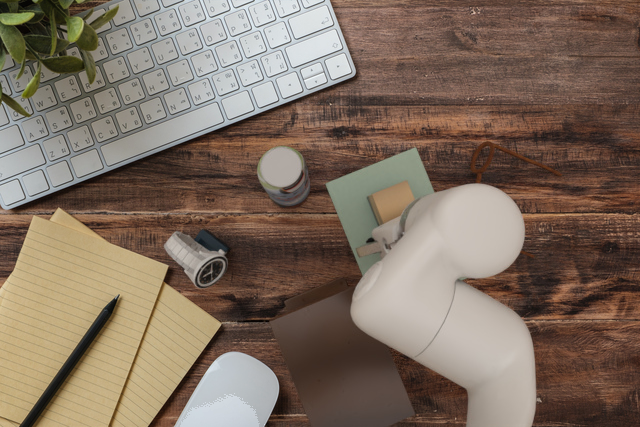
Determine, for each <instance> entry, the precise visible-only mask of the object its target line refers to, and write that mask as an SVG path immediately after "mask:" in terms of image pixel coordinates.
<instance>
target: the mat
mask: <svg viewBox="0 0 640 427" xmlns="http://www.w3.org/2000/svg"><path fill="white" fill-rule="evenodd" d="M419 153H420V152H419V151H418V149H417V146H415V147H413V148H410V149H407V150H405V151H403V152H400V153H397V154H395V155H392V156H390V157H387V158H385V159H383V160H380V161H377V162H375V163H373V164H370V165H367V166H365V167H363V168H360V169H358V170H355V171H353V172H350V173H347V174H346V175H343V176H341V177H338V178H335V179H332V180H330V181H328V182H326V183H324V184H325V187H326V190H327V192H328V195H329V197H330V200H331V202H332V204H333V207H334V209H335V211H336V214H337V217H338V219H339V222H340V224H341V227H342V229H343V232H344V234H345V237H346V239H347V241H348V244H349V246H350V249H351V251H352V253H353V256H354V259H355V260H356V265H357V266H358V268H359V271H360V273H361V277H363V276H364V274H365V273H366V272H367V271H368V270H369V268H370V267H372V266H373V265H374V264H375V263H377V262H378V261H381V258H380V255H379V253H380V252H381V251H380V252H378V253H375V254H370V255H367V256H363V257H359V256H358V254H357V251H356V249H355V248H357V247H359V246H361V245H363V244H366V241H367V240H368V238H371V237H372V231H373V229H375V228H376V227H378V225H377V222H376V220H375V217H374V215H373V212H372V210H371V207H370V205H369V202H368V200H367V198H366V197H367V196H369V195H371V194H374V193H376V192H379V191H381V190H384V189H386V188H388V187H391V186H393V185H396V184H398V183H401V182H403V181H406V180H407V181H408V184H409V186H410V189H411V191H412V194H413V196H414V198H415V199H417V198H419V197H421V196H425V195H428V194H432V193H436V191H435V190H434V187H433V185H432V182H431V181H430V180H431V179H430V178H429V175H428V173H427V171H426V168H425V166H424V163H423V161H422V158H421V156H420V154H419ZM372 238H373V237H372ZM458 279H460V280H461V281H464V280H466V279H468V278H467V277H460V278H458Z"/></svg>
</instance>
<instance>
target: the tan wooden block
mask: <svg viewBox="0 0 640 427" xmlns="http://www.w3.org/2000/svg"><path fill="white" fill-rule="evenodd" d="M366 198H367V200H368V202H369V205H370V207H371V210H372V212H373V215H374V217H375V220H376V222H377V225H378V226H380V225H382V224H384V223H386V222H388V221H390V220H392V219H394V218H397V217H399V216H401V214H402V212H403V210H404V209H405V208H406V206H407V205H408V204H409V203H411V202H412V201H413V200H415V198H414V196H413V194H412V191H411V189H410V186H409V184H408V181H407V180H406V181H403V182H401V183H398V184H396V185H393V186H391V187H388V188H386V189H384V190H381V191H379V192H376V193H374V194H371V195H369V196H367V197H366Z"/></svg>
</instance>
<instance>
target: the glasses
mask: <svg viewBox="0 0 640 427" xmlns="http://www.w3.org/2000/svg"><path fill="white" fill-rule="evenodd" d="M486 147H489V154H488V157H487V159H486V161H485V163H484V164H483V165H481V167H480V168H476V162H477V158H478V157H479V155H480V153H481V151H482V150H483V149H484V148H486ZM495 149H496V150H499V151H501V152H503V153H505V154H507V155H510V156H512V157H514V158H517V159H519V160H521V161H523V162H525V163H529V164H531V165H534V166H536V167H538V168H540V169H544V170H546V171H548V172H550V173H552V174H554V175H555V176H558V177H562V176H563V174H562V172H560V171H557V170H556V169H554V168H551V167H549V166H547V165H546V164H543V163H541V162H538V161H536V160H534V159H531V158H529V157H526V156H525V155H522V154H520V153H517V152H515V151H513V150H510V149H508V148H506V147H503V146H501V145H499V144H497V143H494V142H492V141H490V140H485V141H483V142H481V143H480V144H479V146H478V147H477V148H476V149H475V151H474V153H473V155H472V157H471V161H470V171H471V172H472V173H474V174H476V179H475V182H474V184H475V183H476V184H481V181H482V175H483V174H484V172H486V170H487V169H488V168H489V166H490V164H491V163H492V161H493V159H494V156H495V151H496V150H495ZM519 254H523V255H525V256H528V257H529V258H532V259H534V258H535V255H534V254H533V253H530V252H528V251H524V250H523V249H521V251H520V253H519Z"/></svg>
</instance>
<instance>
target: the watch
mask: <svg viewBox="0 0 640 427" xmlns="http://www.w3.org/2000/svg"><path fill="white" fill-rule="evenodd" d="M163 247H164V248H163V249H164V250H165V251H166V253H167V254H168V256H169V257H171V259H172V260H174V261H175V262H176V263H177V264H178V265H179V266H181V267H182V268H183V269H184V270H183V272H184V273H185V275H186V276H187V277H188V278H189V280H190V281H191V282H192V284H193V285H194V286H195V288H197V289H199V290H203V289H208V288H210V287H212V286H214V285H216V283H218V282H219V281H220V280H221V279H222V278H223V277H224V275H225V273H226V272H227V270H228V266H229V265H228V264H229V263H228V262H229V260H228V258H227V257H226V255H227V254H228V252H229V251H230V250H231V249H232V248H231V247H230V246H229V245H228V244H226V243H225V241H223V240H221V239H220V238H219V237H217V235H215V234H214V233H213V232H211V231H210V230H209V229H207V228H202V229H201V230H200V231H199V232H198V234H196V236H195V237H194V238H193V237H191V236H190V234H188V235H187V234H186V233H183V232H181V231H178V230H176V231H174V232H173V233H172V234H171V236H170V237H169V238H168V239H167V241H166V242H165V243H164V244H163Z"/></svg>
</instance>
